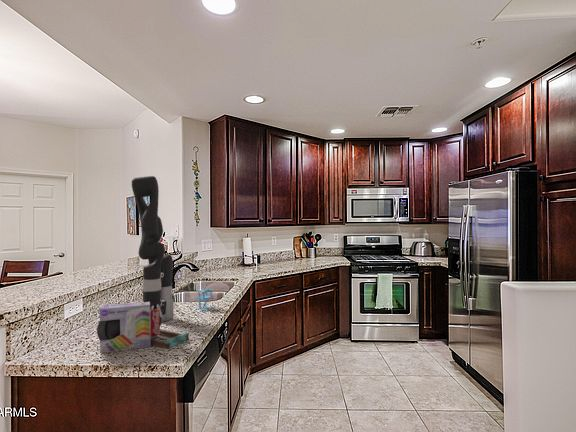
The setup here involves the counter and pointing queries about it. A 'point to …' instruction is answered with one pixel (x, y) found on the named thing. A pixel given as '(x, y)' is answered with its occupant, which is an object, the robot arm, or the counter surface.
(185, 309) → the counter surface
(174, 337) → the guide channel
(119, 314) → the cake pan box
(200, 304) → the light blue translucent piece
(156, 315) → the beverage can
